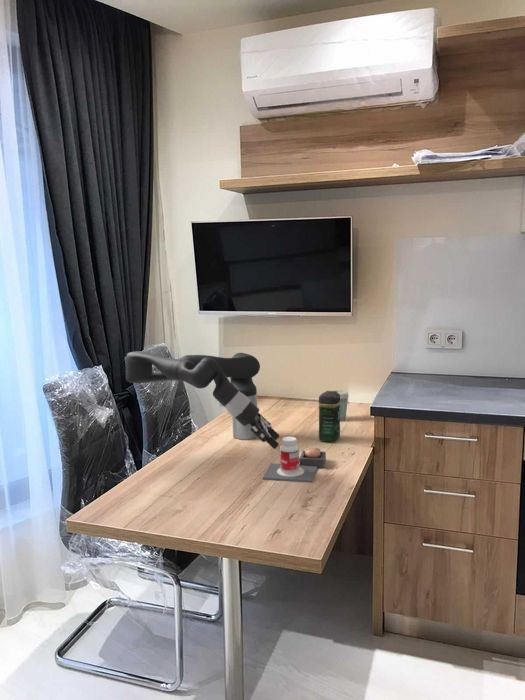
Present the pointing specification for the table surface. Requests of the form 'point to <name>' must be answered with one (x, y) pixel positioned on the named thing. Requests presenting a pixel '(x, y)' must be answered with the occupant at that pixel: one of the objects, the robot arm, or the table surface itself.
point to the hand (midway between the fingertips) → (277, 442)
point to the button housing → (313, 460)
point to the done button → (312, 452)
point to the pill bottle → (289, 455)
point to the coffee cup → (343, 404)
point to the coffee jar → (329, 416)
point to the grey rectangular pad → (302, 475)
